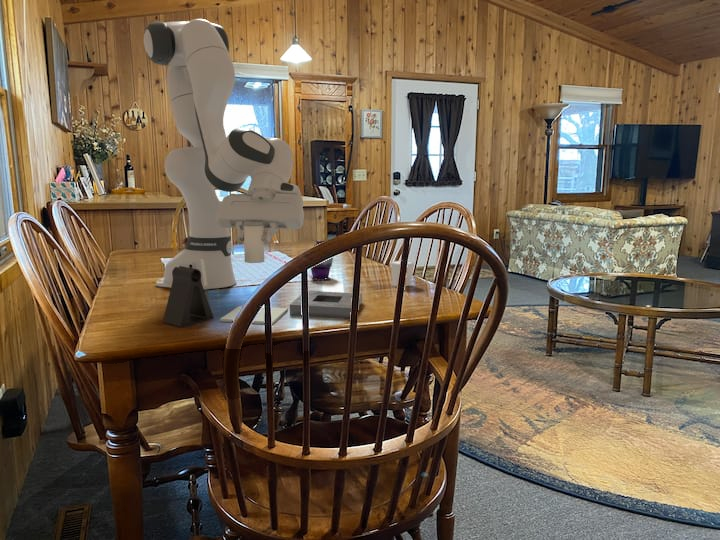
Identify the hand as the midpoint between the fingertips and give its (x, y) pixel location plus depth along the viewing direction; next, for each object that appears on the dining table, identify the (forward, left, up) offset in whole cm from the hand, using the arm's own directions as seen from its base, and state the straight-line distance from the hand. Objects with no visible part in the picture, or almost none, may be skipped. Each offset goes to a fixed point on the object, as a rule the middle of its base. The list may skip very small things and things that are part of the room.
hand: (253, 240), depth 118 cm
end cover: (0, +1, -5) cm, 5 cm away
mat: (0, +1, -18) cm, 18 cm away
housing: (+15, +11, -18) cm, 26 cm away
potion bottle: (+5, +48, -18) cm, 51 cm away
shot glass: (+31, +43, -18) cm, 56 cm away
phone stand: (-13, -6, -18) cm, 23 cm away
